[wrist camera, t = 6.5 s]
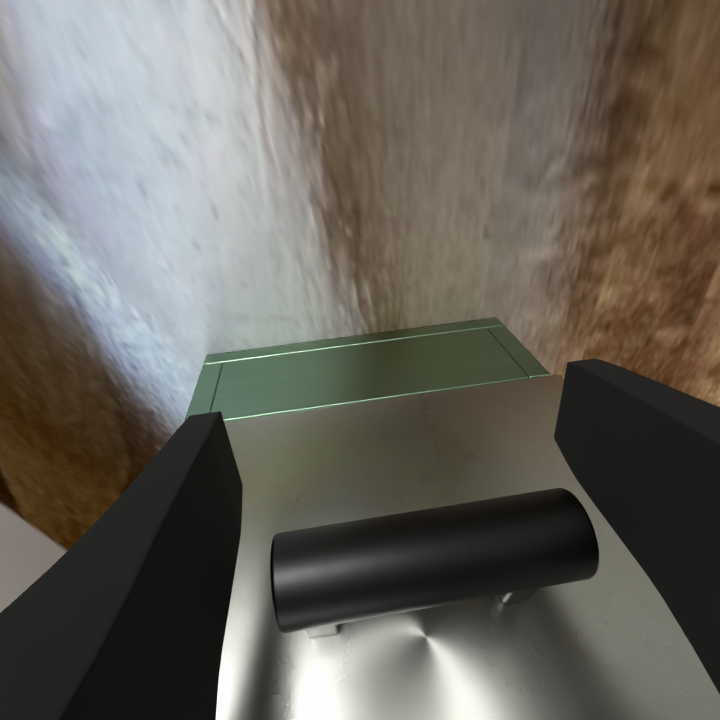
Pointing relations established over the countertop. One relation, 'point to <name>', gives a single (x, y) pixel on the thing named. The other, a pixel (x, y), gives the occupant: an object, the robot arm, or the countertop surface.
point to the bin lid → (439, 573)
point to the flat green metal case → (361, 369)
